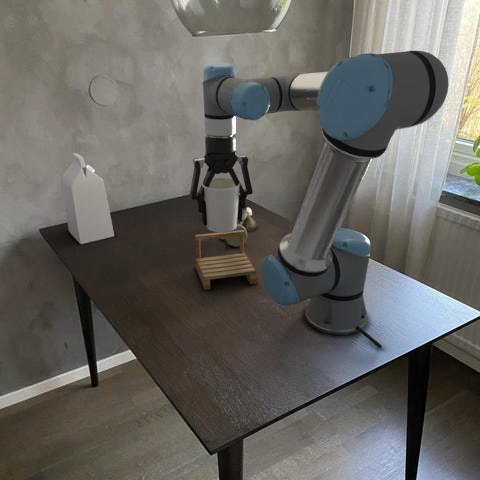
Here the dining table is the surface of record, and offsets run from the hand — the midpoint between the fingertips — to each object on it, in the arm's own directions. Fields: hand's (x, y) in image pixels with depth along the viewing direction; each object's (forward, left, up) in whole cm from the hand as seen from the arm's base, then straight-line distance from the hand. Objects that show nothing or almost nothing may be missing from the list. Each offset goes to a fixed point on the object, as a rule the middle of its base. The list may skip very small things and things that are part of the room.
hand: (221, 221), depth 136 cm
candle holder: (0, 0, -2) cm, 2 cm away
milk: (+41, +36, -17) cm, 57 cm away
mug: (+23, -9, -17) cm, 30 cm away
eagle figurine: (+35, -16, -17) cm, 42 cm away
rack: (+1, -1, -17) cm, 17 cm away
